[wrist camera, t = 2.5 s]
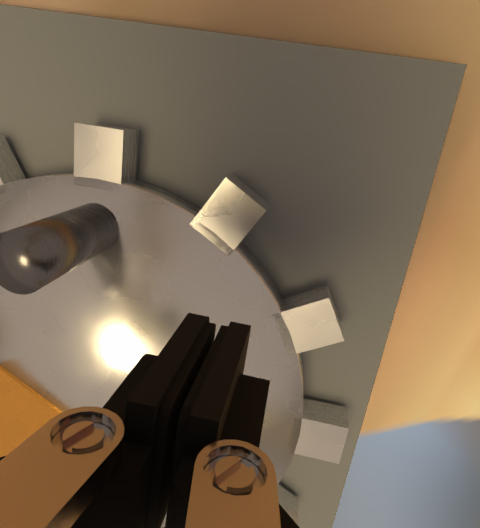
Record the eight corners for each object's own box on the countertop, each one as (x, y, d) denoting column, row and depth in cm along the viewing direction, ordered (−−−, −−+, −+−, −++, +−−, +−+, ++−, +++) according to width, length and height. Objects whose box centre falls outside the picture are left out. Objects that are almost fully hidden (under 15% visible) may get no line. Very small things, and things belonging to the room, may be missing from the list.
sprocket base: (-139, -9, 19) (-224, -35, 16) (456, 68, 16) (489, 55, 13) (-68, 514, 29) (-111, 559, 26) (300, 615, 27) (299, 677, 24)
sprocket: (-139, 86, 19) (-356, 66, 13) (409, 172, 16) (470, 199, 10) (-80, 492, 27) (-197, 601, 20) (295, 593, 24) (290, 752, 18)
